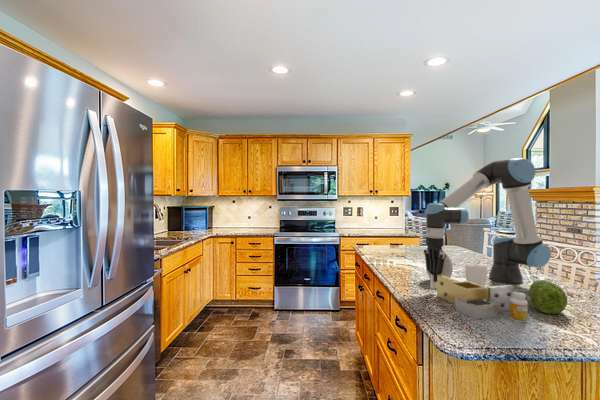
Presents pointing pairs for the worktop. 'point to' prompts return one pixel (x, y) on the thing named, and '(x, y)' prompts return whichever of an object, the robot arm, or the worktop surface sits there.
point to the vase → (445, 267)
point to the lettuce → (547, 297)
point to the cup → (476, 274)
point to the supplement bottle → (518, 307)
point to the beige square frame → (460, 290)
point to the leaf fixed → (488, 303)
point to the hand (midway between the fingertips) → (433, 288)
